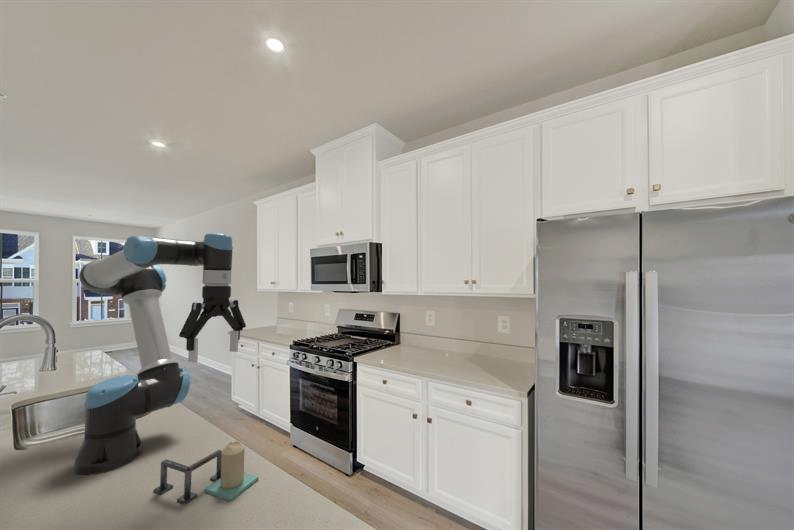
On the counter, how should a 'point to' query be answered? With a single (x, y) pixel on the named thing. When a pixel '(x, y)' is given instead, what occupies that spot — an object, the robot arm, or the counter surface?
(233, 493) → the pad
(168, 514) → the counter surface
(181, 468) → the handrail
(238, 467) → the candle
